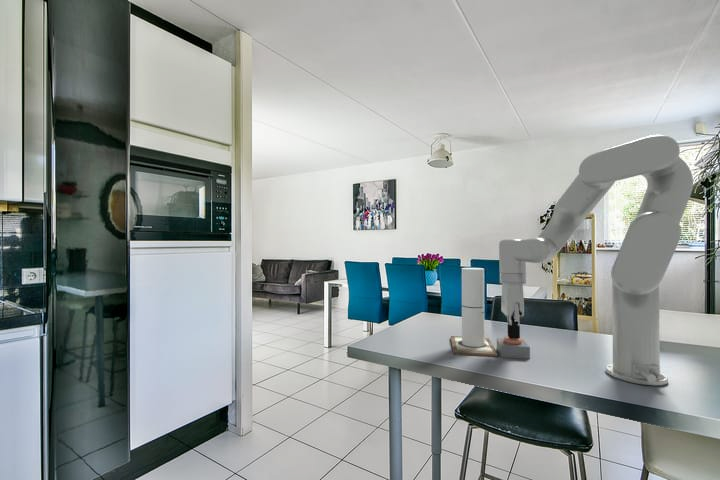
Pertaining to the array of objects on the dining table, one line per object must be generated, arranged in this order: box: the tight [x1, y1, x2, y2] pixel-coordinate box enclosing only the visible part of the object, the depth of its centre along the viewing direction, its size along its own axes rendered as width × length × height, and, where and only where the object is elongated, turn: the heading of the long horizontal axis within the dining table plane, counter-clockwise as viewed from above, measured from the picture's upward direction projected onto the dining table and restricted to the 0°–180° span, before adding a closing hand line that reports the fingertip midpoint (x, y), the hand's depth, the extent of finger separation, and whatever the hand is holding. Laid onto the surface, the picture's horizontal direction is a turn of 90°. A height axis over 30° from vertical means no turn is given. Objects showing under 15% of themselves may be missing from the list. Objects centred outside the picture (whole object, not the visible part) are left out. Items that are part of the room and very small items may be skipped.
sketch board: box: [450, 335, 499, 358], centre depth 115 cm, size 18×13×1 cm
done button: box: [503, 335, 523, 345], centre depth 108 cm, size 5×5×4 cm
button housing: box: [496, 337, 531, 360], centre depth 108 cm, size 8×8×4 cm
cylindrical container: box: [461, 267, 485, 347], centre depth 115 cm, size 7×7×25 cm
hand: (513, 337), depth 108 cm, fingers closed
